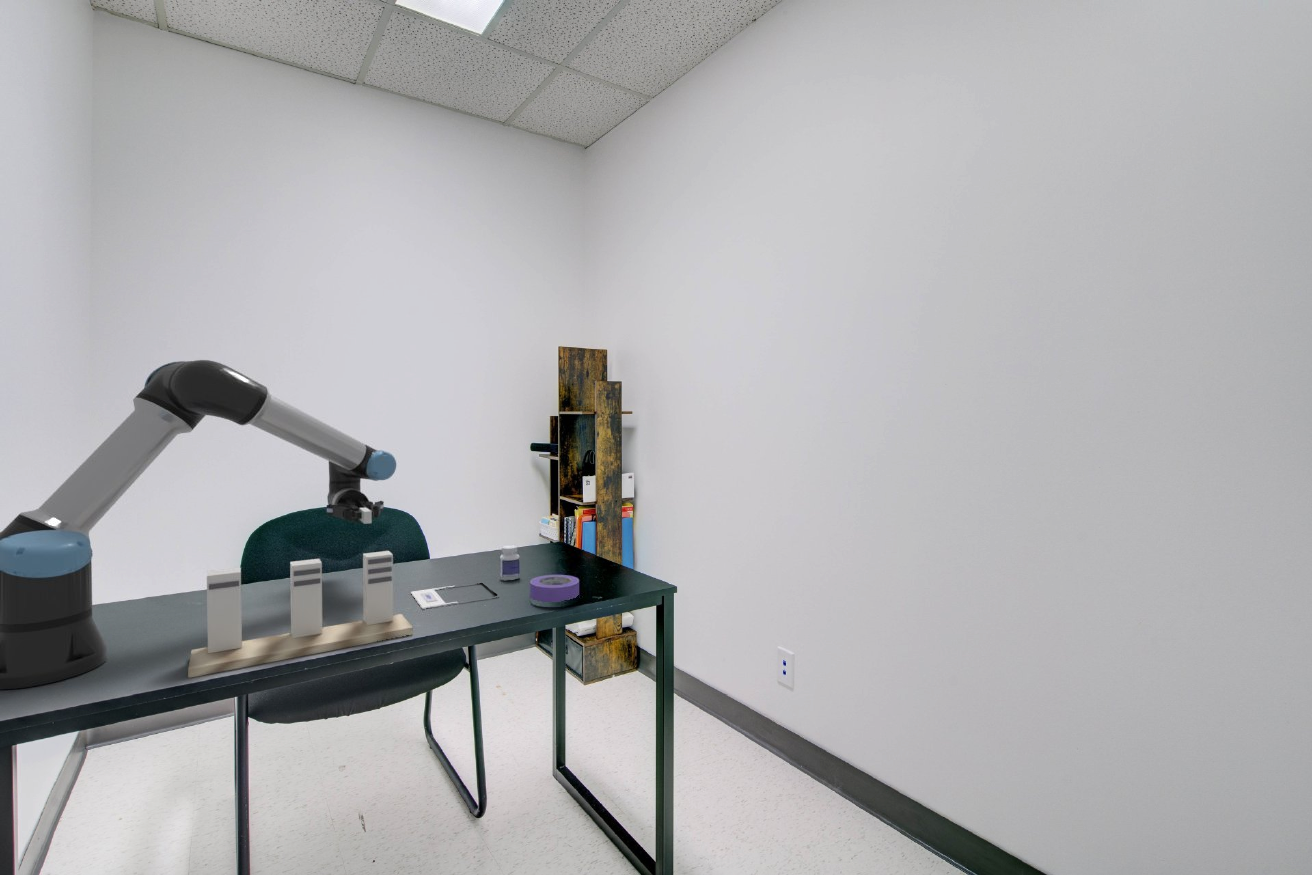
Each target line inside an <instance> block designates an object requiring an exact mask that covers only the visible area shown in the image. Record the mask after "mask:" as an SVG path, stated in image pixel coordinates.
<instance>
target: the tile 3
mask: <svg viewBox="0 0 1312 875" xmlns="http://www.w3.org/2000/svg"><path fill="white" fill-rule="evenodd" d="M362 577H363V578H362V580H363V581H362V586H363V589H362V598H363V599H362V604H363V605H362V606H363V611H362V612H363V616H362V617H363V620H364V622H365V623H366V625H373V624H378V623H384V622H390V621H393V615H394V556H393V553H392V552H391V551H389V550H383V551H376V552H374V551H373V552H366V553H362ZM363 620H362V621H363Z"/></svg>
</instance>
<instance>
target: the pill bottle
mask: <svg viewBox="0 0 1312 875" xmlns="http://www.w3.org/2000/svg"><path fill="white" fill-rule="evenodd" d="M501 552H502V553H501V555H500V556H499V577H500V576H501V577H516V576H518V575H519V574H521V573H520V571H521V570H520V567H521V566H520V565H521V564H520V563H521V562H520V555H519V553H517V552H518V546H516V545H513V544H512V545H504V546H502V548H501Z"/></svg>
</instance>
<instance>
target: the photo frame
mask: <svg viewBox="0 0 1312 875" xmlns="http://www.w3.org/2000/svg"><path fill="white" fill-rule="evenodd" d="M454 586H455V585H450V586H449V585H448V586H442V587H436V588H435V587H434V588H429V589H428V588H427V589H422V590H421V589H420V590H415V591H414V590H413V591H410V595H411V594H412V595H411V596H412V598H413V597H414V598H415V599H414V598H413V599H414V600H415V602H416V601H417V602H416V603H417V604H419V605H420V606H419V605H418V606H419V607H420V609H421V608H422V609H425V610H427V609H426V608H430V607H437V606H441V605H447V604H451V603H458V602H457V601H453V602H452V601H451V602H445V601H444V599H442V597H441V596H440V595H439V594H438V593H437V591H435V590H438V591H440V590H439V589H443V588H446V587H454ZM422 609H421V610H422Z"/></svg>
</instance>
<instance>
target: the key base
mask: <svg viewBox="0 0 1312 875" xmlns="http://www.w3.org/2000/svg"><path fill="white" fill-rule="evenodd" d="M413 634H414V627H413V626H412V624H410V622H409V621H408V620H407V619H406V618H405V616H404V615H403V614H402V613H400V614H399V613H398V614H393V621H390V622H384V623H378V624H373V625H366V623H365V622H364V620H359V621H353V622H346V623H340V624H335V625H329V626H324V627H323V626H322V634H316V635H310V636H305V637H299V638H292V634H291V632H288V633H284V634H283V633H282V634H277V635H271V636H264V637H259V638H254V639H248V640H242V648H237V649H231V650H225V651H220V652H214V653H208V646H206V647H201V648H194V649H191V651H190V657H189V664H188V668H187V670H188V672H187V674H188V675H187V676H188V677H187V678H188V679H189V678H195V677H200V676H205V675H210V674H215V673H220V672H221V673H222V672H227V671H231V670H236V669H237V670H238V669H241V668H246V667H252V666H257V665H264V664H267V663H273V662H279V661H284V660H289V659H293V658H299V657H305V656H309V655H310V656H311V655H314V654H320V653H325V652H329V651H336V650H340V649H346V648H351V647H357V646H363V645H366V644H372V643H377V641H378V642H382V640H383V641H387V640H386V639H388V640H392V639H391V638H393V639H396V638H395V637H398V638H402V636H404V637H407V636H406V635H409V636H413Z"/></svg>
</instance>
